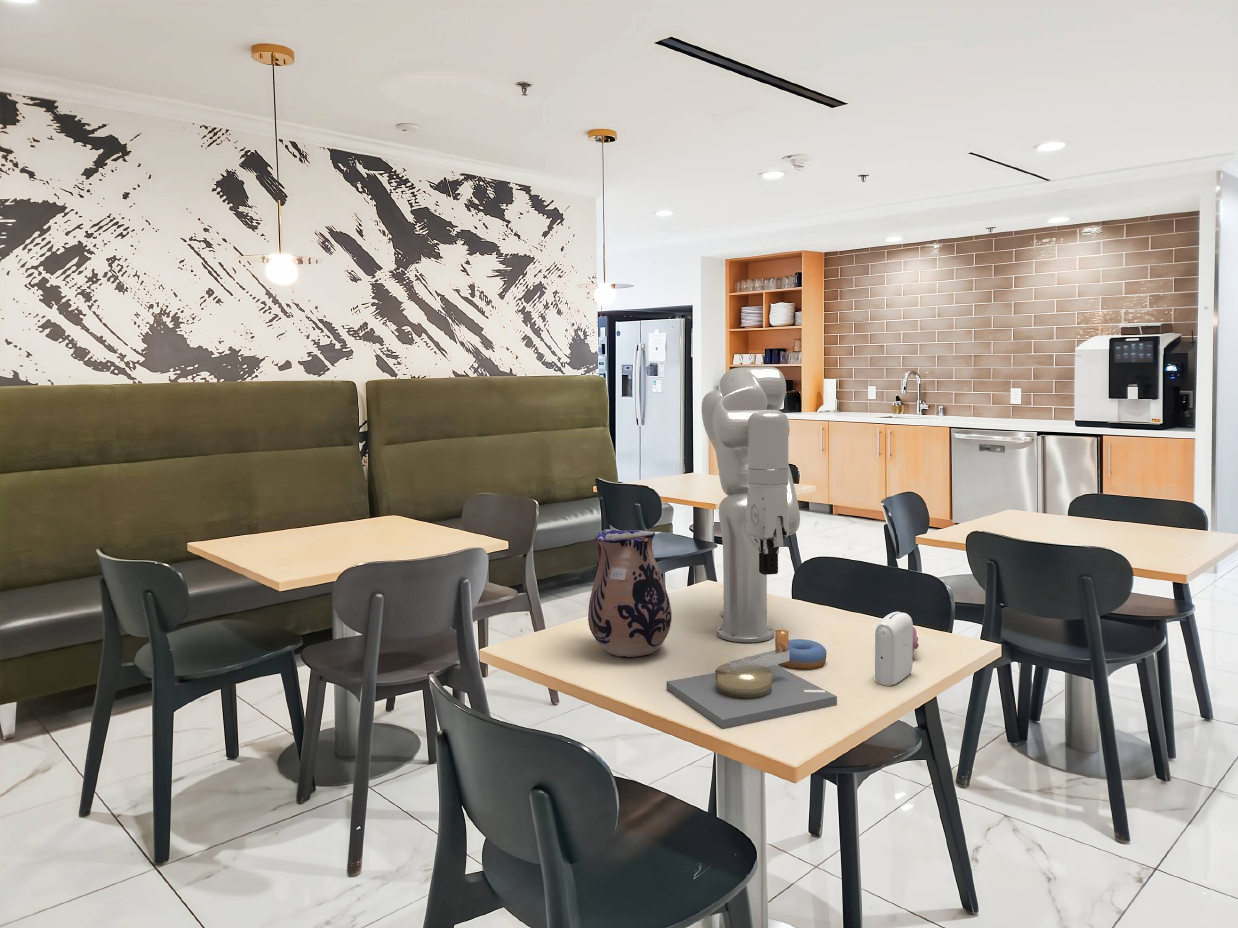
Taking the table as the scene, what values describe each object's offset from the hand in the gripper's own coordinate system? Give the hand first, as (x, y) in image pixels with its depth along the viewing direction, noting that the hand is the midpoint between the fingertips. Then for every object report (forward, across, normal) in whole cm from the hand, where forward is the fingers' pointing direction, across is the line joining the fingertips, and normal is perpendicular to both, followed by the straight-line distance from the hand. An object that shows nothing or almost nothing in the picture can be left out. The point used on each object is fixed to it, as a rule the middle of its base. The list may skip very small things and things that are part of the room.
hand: (768, 573), depth 163 cm
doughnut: (+20, -5, +9) cm, 23 cm away
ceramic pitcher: (+20, -23, -22) cm, 38 cm away
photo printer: (+20, +8, +22) cm, 31 cm away
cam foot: (+18, +9, -6) cm, 21 cm away
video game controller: (+20, -4, +31) cm, 37 cm away
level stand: (+20, +10, -8) cm, 24 cm away
